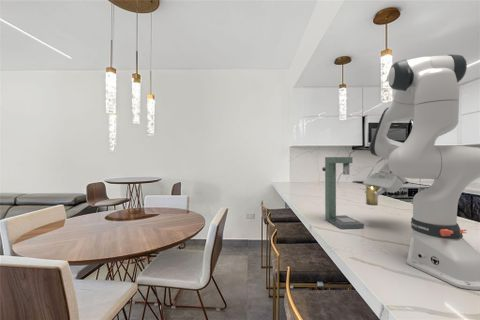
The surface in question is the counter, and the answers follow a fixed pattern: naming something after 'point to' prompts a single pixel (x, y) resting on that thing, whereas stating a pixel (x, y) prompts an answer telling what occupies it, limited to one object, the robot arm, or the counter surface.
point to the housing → (371, 195)
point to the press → (330, 193)
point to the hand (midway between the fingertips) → (370, 194)
